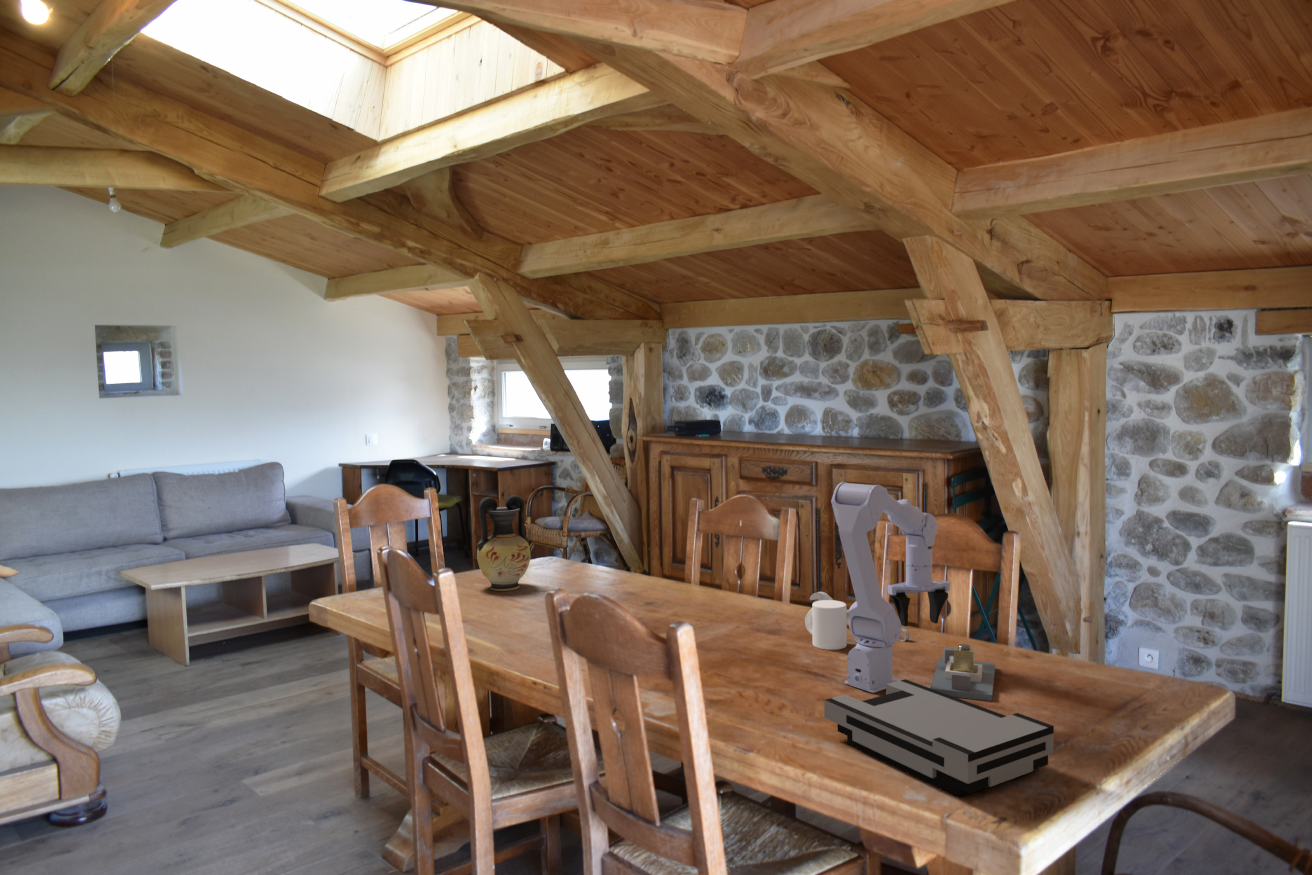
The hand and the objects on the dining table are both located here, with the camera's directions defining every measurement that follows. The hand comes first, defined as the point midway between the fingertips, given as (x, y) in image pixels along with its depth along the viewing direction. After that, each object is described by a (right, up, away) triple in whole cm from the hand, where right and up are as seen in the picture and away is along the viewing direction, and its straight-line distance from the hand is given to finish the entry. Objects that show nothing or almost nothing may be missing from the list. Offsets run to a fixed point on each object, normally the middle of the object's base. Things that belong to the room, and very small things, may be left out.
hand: (918, 623), depth 200 cm
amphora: (-109, -7, +85) cm, 138 cm away
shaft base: (+6, -10, -11) cm, 16 cm away
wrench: (-7, -8, +30) cm, 32 cm away
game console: (-12, -13, -48) cm, 51 cm away
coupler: (+6, -9, -12) cm, 16 cm away
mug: (-18, -9, +18) cm, 27 cm away
